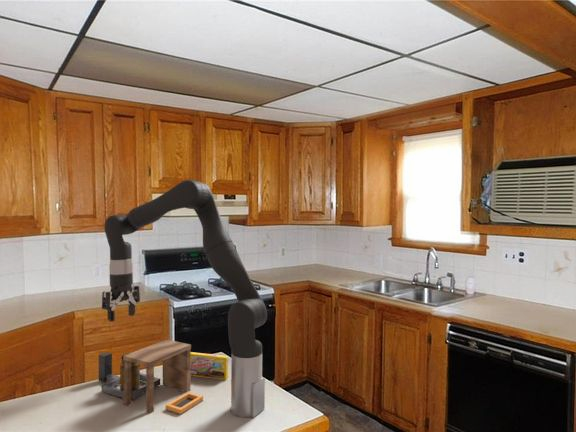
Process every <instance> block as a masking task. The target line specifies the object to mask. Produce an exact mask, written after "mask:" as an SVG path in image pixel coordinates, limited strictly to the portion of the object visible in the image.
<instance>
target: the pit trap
mask: <svg viewBox="0 0 576 432" xmlns="http://www.w3.org/2000/svg"><path fill="white" fill-rule="evenodd" d="M203 401H204V396H203V395H201V394H196V393H193V392H190V391H188V392H185V393H184V394H182V395H181V396H179V397H177V398H176V399H173V400H172V401H170V402H168V403H167V404H165V411H167V412H171V413H174V414H176V415H180V416H182V415H183V414H185V413H186V412H188V411H190V410H191V409H193V408H194V407H196V406H197V405H199V404H201V403H202V402H203Z"/></svg>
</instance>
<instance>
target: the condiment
mask: <svg viewBox="0 0 576 432" xmlns="http://www.w3.org/2000/svg"><path fill="white" fill-rule="evenodd" d="M132 352H133V351H132ZM132 352H126V353H123V354H122V355H121V360H120V361H121V363H120V366H119V377H120V385H119V389H122V390H124V360H123V356H124V355H127V354H130V353H132ZM140 366H141V364H137V363H134V362H131V391H133V390H135V389H137V388H139V387H141V385H140V373H141V371H140V370H141V369H140Z"/></svg>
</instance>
